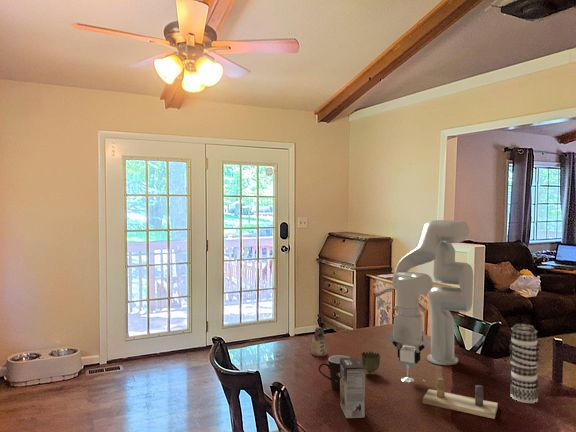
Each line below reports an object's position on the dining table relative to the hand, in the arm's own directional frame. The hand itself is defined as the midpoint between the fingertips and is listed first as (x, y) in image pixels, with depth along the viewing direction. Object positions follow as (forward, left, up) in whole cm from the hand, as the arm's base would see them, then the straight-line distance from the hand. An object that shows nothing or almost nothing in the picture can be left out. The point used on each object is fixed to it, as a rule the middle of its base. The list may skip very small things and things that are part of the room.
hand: (409, 360), depth 158 cm
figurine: (-19, -46, -11) cm, 51 cm away
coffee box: (+26, -11, -11) cm, 30 cm away
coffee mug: (+10, -24, -11) cm, 28 cm away
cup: (-7, -17, -11) cm, 22 cm away
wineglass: (-9, -3, -11) cm, 14 cm away
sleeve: (0, 0, -1) cm, 1 cm away
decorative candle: (-13, +36, -11) cm, 40 cm away
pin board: (+4, +18, -11) cm, 21 cm away
